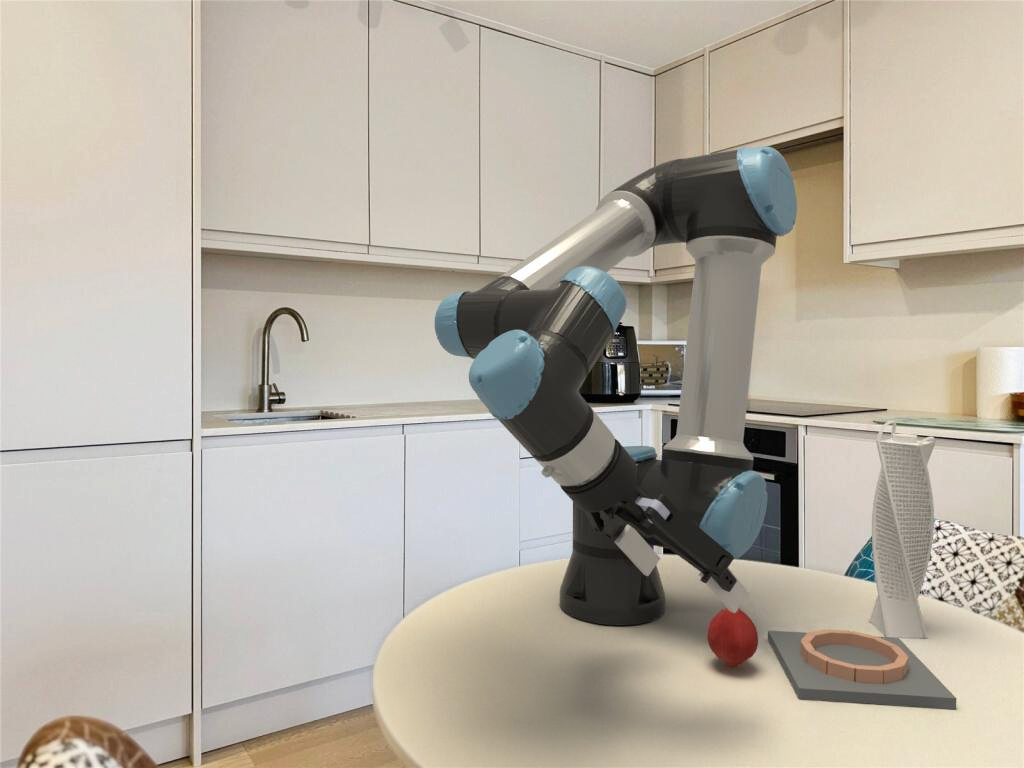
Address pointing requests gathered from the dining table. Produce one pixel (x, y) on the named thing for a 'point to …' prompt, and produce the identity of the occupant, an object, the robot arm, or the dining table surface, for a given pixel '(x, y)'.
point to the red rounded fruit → (732, 637)
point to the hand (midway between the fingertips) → (692, 583)
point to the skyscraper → (901, 533)
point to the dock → (857, 669)
